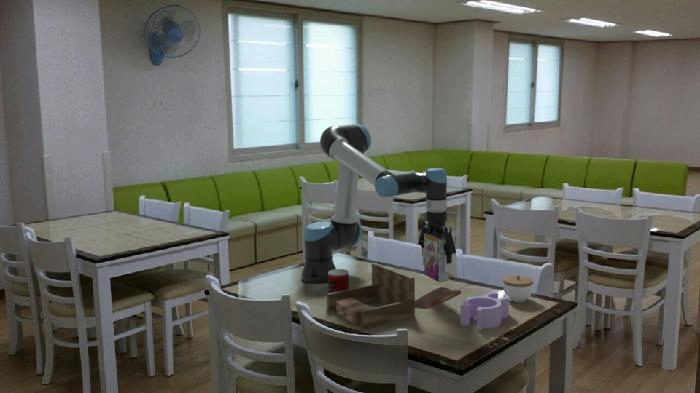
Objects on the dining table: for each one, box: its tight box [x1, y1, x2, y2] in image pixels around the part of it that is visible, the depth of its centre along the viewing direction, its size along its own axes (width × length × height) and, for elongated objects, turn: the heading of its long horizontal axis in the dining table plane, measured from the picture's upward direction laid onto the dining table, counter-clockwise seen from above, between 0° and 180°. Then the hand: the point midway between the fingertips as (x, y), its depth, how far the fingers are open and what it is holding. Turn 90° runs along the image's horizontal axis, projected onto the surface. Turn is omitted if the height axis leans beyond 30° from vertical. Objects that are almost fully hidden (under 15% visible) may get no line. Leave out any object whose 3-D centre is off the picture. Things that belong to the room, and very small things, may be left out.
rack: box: [326, 262, 416, 330], centre depth 225 cm, size 24×21×14 cm
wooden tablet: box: [415, 286, 462, 310], centre depth 241 cm, size 26×2×10 cm
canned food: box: [327, 268, 350, 293], centre depth 241 cm, size 8×8×11 cm
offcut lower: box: [336, 309, 361, 326], centre depth 223 cm, size 14×7×2 cm, turn 28°
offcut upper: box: [336, 298, 372, 320], centre depth 222 cm, size 14×7×2 cm, turn 30°
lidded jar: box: [502, 274, 534, 303], centre depth 236 cm, size 11×11×9 cm
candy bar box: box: [423, 233, 450, 283], centre depth 237 cm, size 11×5×16 cm, turn 22°
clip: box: [459, 291, 510, 331], centre depth 217 cm, size 20×12×7 cm, turn 136°
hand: (436, 268), depth 238 cm, fingers closed on candy bar box, 12 cm apart
